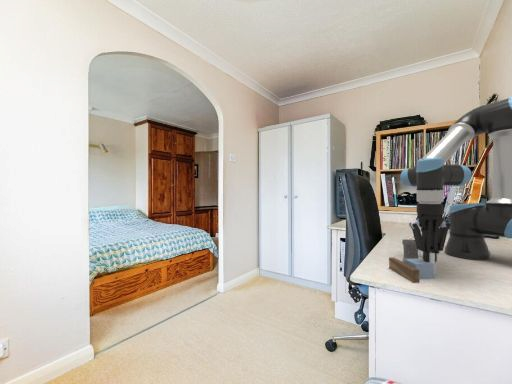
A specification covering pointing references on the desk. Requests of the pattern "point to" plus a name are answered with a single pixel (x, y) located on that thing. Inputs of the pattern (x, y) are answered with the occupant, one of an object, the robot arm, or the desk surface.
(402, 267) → the board
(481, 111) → the robot arm
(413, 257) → the stone
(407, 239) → the action figure
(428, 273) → the block
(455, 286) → the desk surface
